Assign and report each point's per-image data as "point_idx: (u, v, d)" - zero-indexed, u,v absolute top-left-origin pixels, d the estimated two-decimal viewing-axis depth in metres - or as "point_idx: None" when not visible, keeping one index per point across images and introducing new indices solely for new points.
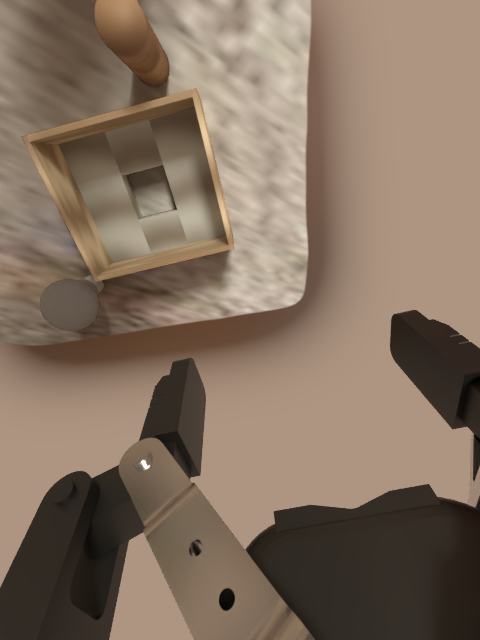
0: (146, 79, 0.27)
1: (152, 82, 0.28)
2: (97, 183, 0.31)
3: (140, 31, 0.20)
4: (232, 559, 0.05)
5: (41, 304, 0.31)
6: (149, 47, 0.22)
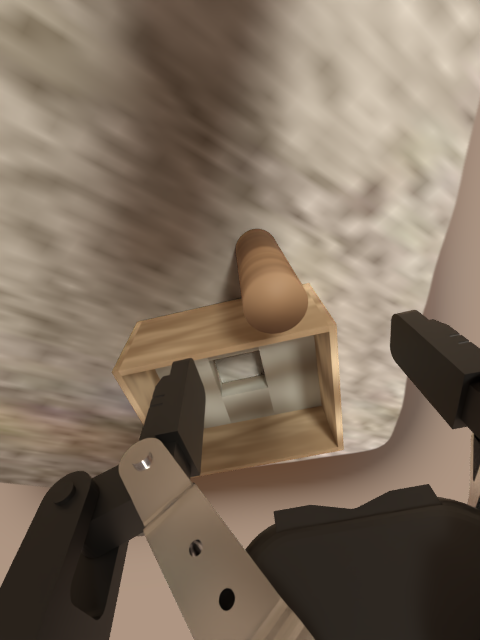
0: None
1: None
2: None
3: (299, 313, 0.15)
4: (232, 559, 0.05)
5: None
6: None
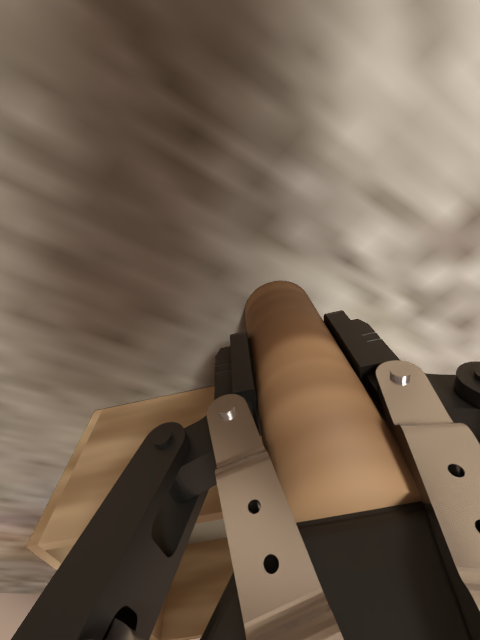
0: None
1: None
2: None
3: None
4: (284, 532, 0.05)
5: None
6: None
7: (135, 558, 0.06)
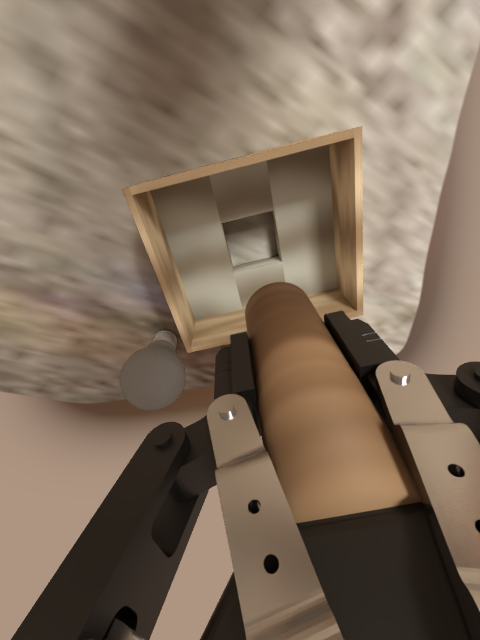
0: None
1: None
2: (191, 232, 0.25)
3: None
4: (284, 532, 0.05)
5: (124, 384, 0.25)
6: None
7: (135, 558, 0.06)
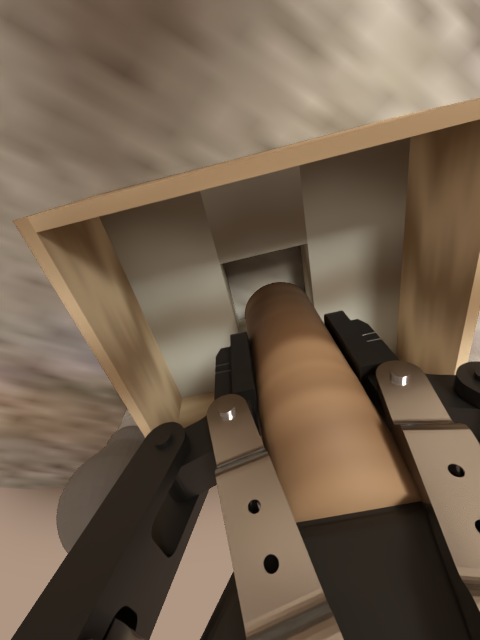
0: None
1: None
2: (171, 278, 0.16)
3: None
4: (284, 532, 0.05)
5: (60, 531, 0.15)
6: None
7: (135, 558, 0.06)
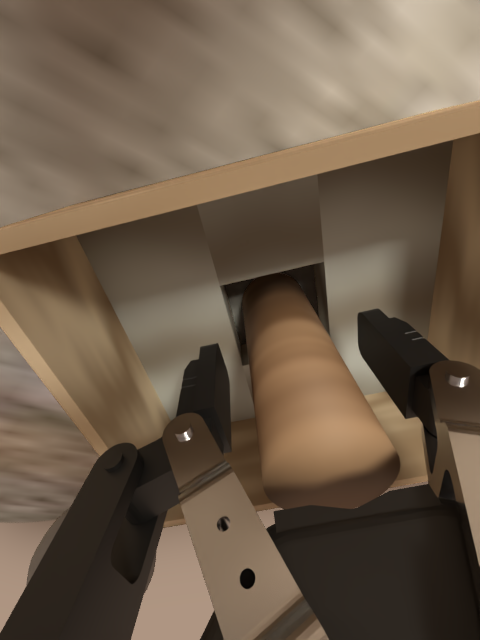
0: None
1: None
2: (162, 302, 0.13)
3: (377, 486, 0.07)
4: (256, 543, 0.05)
5: None
6: None
7: (95, 590, 0.06)
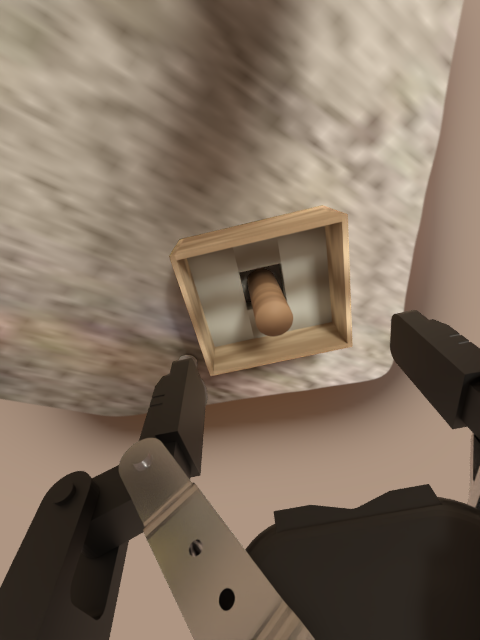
0: None
1: None
2: (214, 279, 0.32)
3: (288, 324, 0.26)
4: (232, 559, 0.05)
5: None
6: None
7: (56, 633, 0.05)
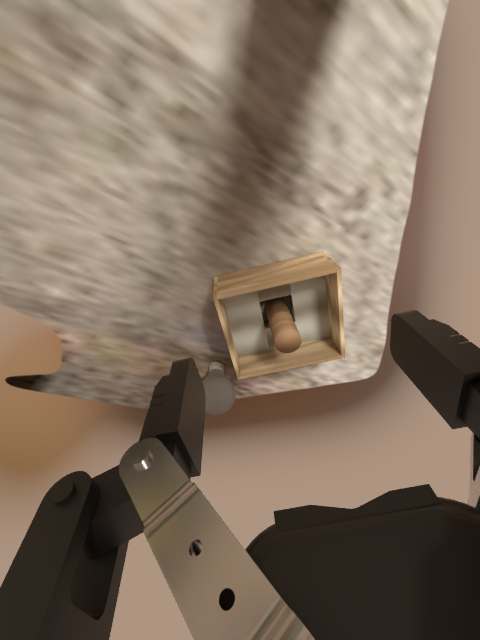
0: None
1: None
2: (240, 306, 0.42)
3: (298, 344, 0.36)
4: (232, 559, 0.05)
5: None
6: None
7: (56, 633, 0.05)
